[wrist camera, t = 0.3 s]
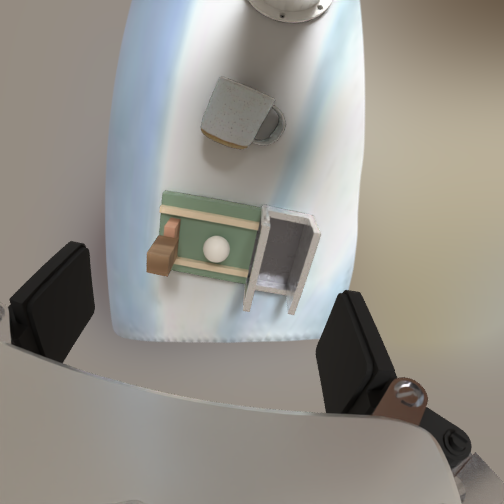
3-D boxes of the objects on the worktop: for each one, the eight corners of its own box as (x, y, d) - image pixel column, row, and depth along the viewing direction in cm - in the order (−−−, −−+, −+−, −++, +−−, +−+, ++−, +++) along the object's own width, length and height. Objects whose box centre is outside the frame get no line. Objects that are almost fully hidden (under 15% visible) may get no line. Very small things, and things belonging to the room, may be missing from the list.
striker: (166, 216, 46) (147, 242, 38) (185, 219, 46) (169, 246, 38) (163, 250, 48) (146, 281, 40) (181, 254, 49) (167, 285, 41)
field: (165, 190, 46) (161, 194, 44) (261, 207, 47) (261, 213, 45) (159, 262, 52) (156, 269, 49) (245, 279, 53) (245, 286, 50)
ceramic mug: (202, 128, 41) (191, 134, 34) (223, 77, 38) (217, 72, 31) (270, 156, 43) (273, 167, 36) (293, 105, 39) (302, 107, 33)
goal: (261, 203, 46) (262, 224, 39) (313, 214, 47) (322, 236, 40) (244, 281, 53) (242, 311, 46) (290, 289, 53) (294, 319, 46)
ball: (207, 229, 47) (202, 240, 43) (233, 234, 47) (230, 245, 44) (203, 252, 49) (199, 264, 45) (228, 256, 49) (226, 269, 45)
